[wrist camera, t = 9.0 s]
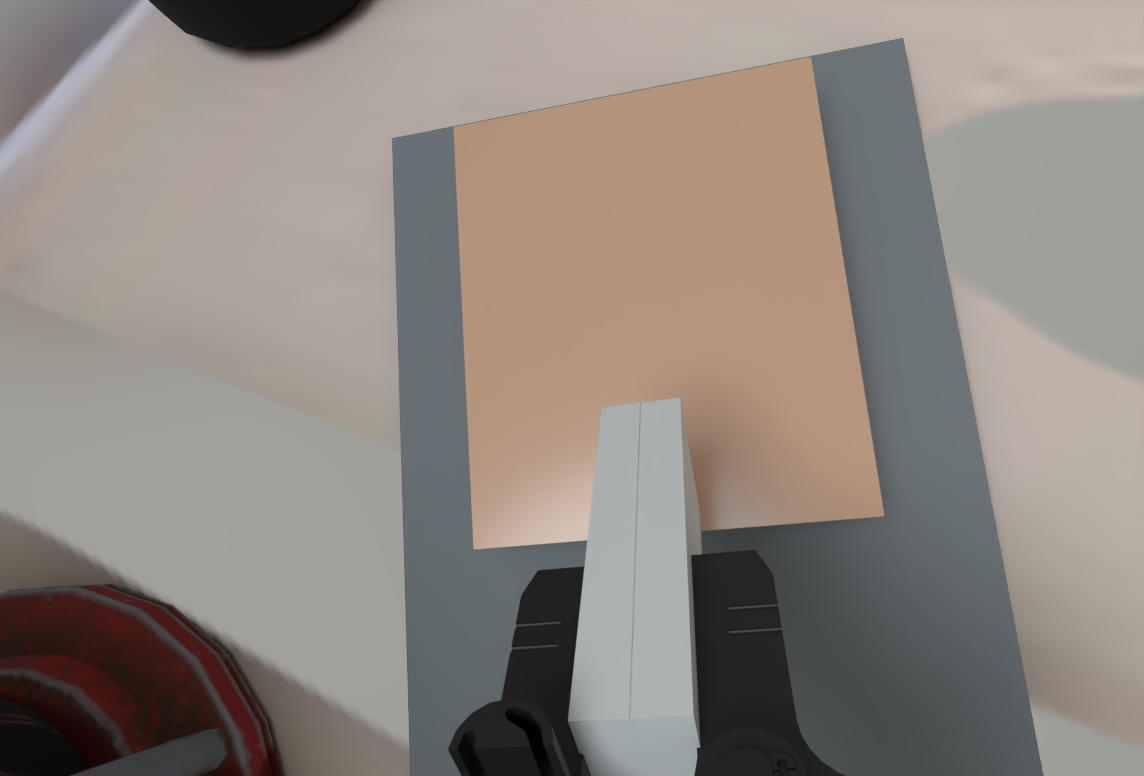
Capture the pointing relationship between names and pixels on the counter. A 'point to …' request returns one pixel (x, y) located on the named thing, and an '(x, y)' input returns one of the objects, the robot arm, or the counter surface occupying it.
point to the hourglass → (120, 690)
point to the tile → (660, 304)
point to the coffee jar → (255, 19)
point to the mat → (793, 552)
